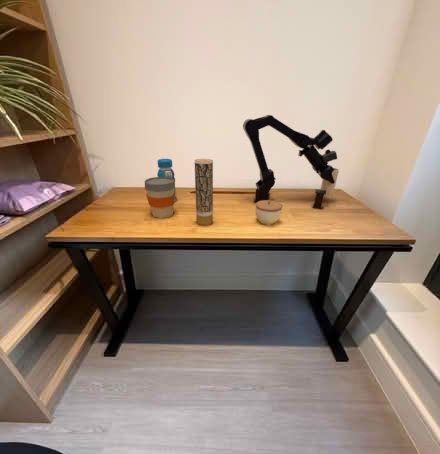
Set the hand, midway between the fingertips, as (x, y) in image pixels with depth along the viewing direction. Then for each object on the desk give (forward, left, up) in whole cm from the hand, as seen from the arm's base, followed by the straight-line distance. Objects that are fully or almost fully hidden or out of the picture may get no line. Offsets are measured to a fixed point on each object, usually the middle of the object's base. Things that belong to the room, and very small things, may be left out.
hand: (332, 181), depth 123 cm
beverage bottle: (-75, -30, -11) cm, 82 cm away
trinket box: (-23, -36, -11) cm, 45 cm away
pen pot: (-1, 0, -7) cm, 7 cm away
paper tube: (-47, -47, -11) cm, 68 cm away
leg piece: (-4, -9, -11) cm, 15 cm away
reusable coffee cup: (-68, -46, -11) cm, 83 cm away
